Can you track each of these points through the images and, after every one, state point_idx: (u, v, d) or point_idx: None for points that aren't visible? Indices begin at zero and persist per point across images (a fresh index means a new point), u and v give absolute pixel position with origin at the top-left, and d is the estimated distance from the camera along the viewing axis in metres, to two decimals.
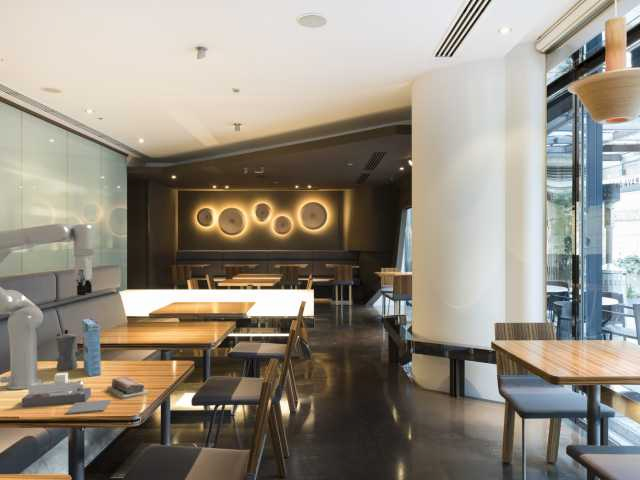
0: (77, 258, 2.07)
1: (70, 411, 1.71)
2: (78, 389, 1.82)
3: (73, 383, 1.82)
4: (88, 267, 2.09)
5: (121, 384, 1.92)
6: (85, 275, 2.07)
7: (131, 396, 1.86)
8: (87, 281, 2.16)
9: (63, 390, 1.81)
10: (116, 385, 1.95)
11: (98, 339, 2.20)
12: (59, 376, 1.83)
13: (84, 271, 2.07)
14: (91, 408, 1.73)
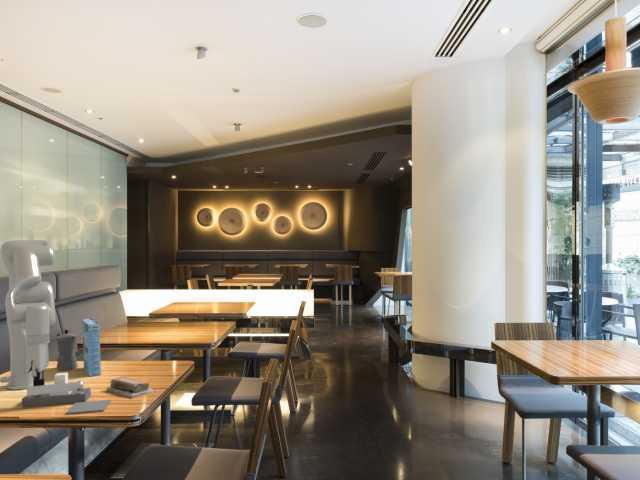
0: (29, 347, 1.77)
1: (70, 411, 1.71)
2: (78, 389, 1.82)
3: (73, 383, 1.82)
4: (43, 356, 1.79)
5: (125, 384, 1.92)
6: (38, 366, 1.77)
7: (139, 394, 1.88)
8: None
9: (62, 391, 1.81)
10: (117, 385, 1.95)
11: (98, 339, 2.20)
12: (59, 376, 1.83)
13: (37, 362, 1.77)
14: (91, 408, 1.73)
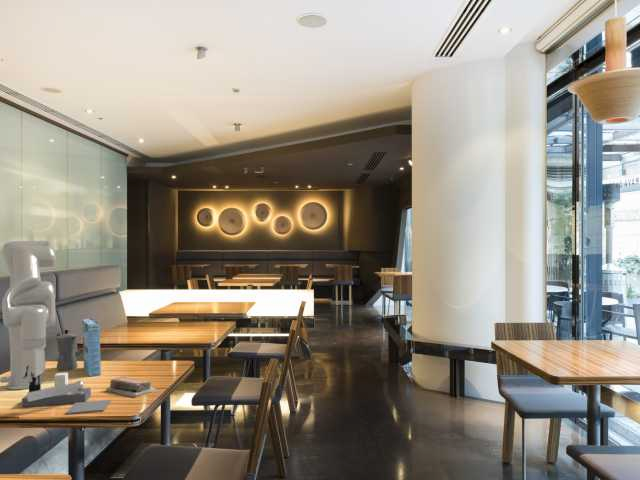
0: (24, 351, 1.70)
1: (70, 411, 1.71)
2: (80, 389, 1.82)
3: (74, 384, 1.81)
4: (39, 361, 1.73)
5: (127, 383, 1.92)
6: (34, 372, 1.70)
7: (142, 394, 1.89)
8: None
9: (64, 392, 1.79)
10: (118, 385, 1.95)
11: (98, 339, 2.20)
12: (59, 376, 1.83)
13: (33, 367, 1.70)
14: (91, 408, 1.73)
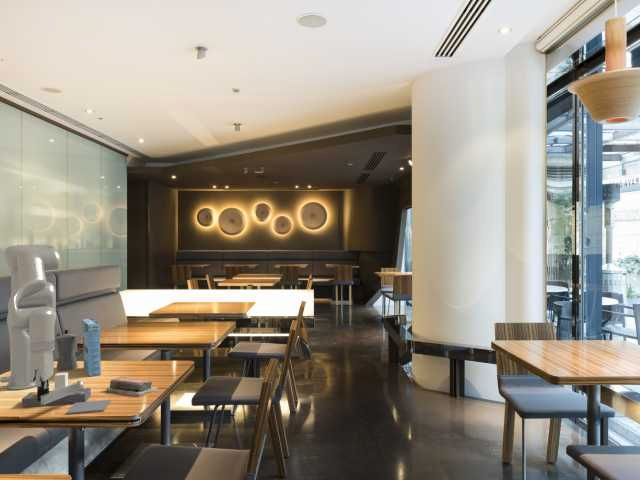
0: (33, 355, 1.65)
1: (70, 411, 1.71)
2: (81, 389, 1.83)
3: (76, 384, 1.81)
4: (47, 364, 1.68)
5: (128, 383, 1.93)
6: (43, 376, 1.66)
7: (145, 393, 1.90)
8: None
9: (69, 393, 1.78)
10: (119, 385, 1.95)
11: (98, 339, 2.20)
12: (59, 376, 1.83)
13: (42, 371, 1.65)
14: (91, 408, 1.73)
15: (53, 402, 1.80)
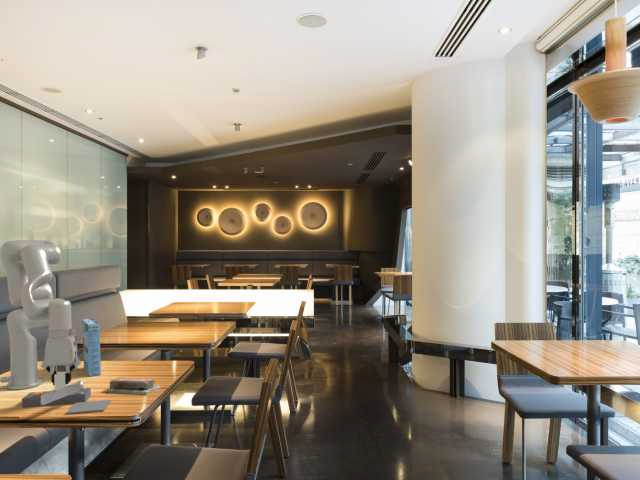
0: None
1: (70, 411, 1.71)
2: (81, 389, 1.83)
3: (76, 384, 1.81)
4: (51, 351, 1.82)
5: (132, 382, 1.94)
6: (45, 360, 1.82)
7: (151, 391, 1.93)
8: None
9: (69, 393, 1.78)
10: (120, 385, 1.95)
11: (98, 339, 2.20)
12: (59, 375, 1.82)
13: None
14: (91, 408, 1.73)
15: (53, 402, 1.80)
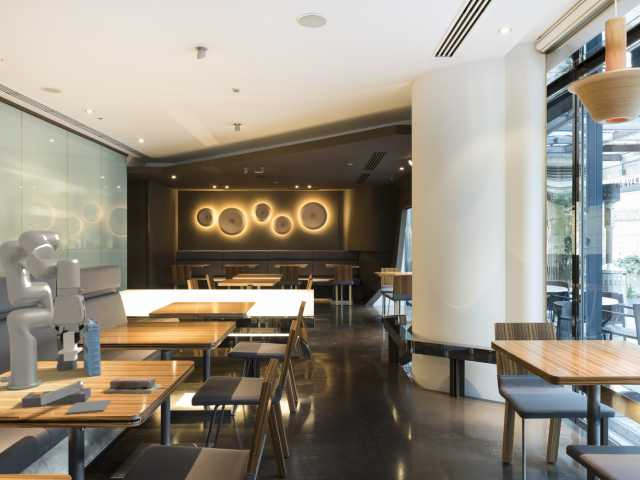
0: None
1: (70, 411, 1.71)
2: (81, 389, 1.83)
3: (76, 384, 1.81)
4: (60, 310, 1.79)
5: (134, 382, 1.94)
6: (53, 319, 1.79)
7: (154, 389, 1.94)
8: None
9: (69, 393, 1.78)
10: (122, 385, 1.95)
11: (98, 339, 2.20)
12: (68, 334, 1.79)
13: None
14: (91, 408, 1.73)
15: (53, 402, 1.80)
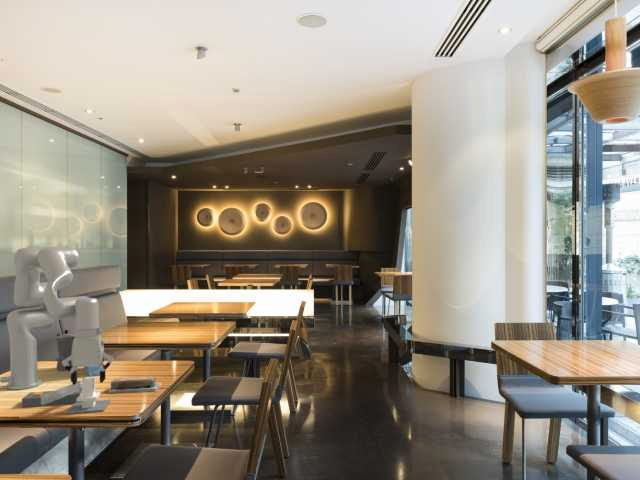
0: None
1: (70, 411, 1.71)
2: (81, 389, 1.83)
3: (76, 384, 1.81)
4: (78, 351, 1.73)
5: (137, 381, 1.95)
6: (71, 361, 1.73)
7: (157, 387, 1.97)
8: None
9: (69, 393, 1.78)
10: (123, 385, 1.95)
11: None
12: (86, 380, 1.74)
13: (71, 356, 1.74)
14: (91, 408, 1.73)
15: (53, 402, 1.80)
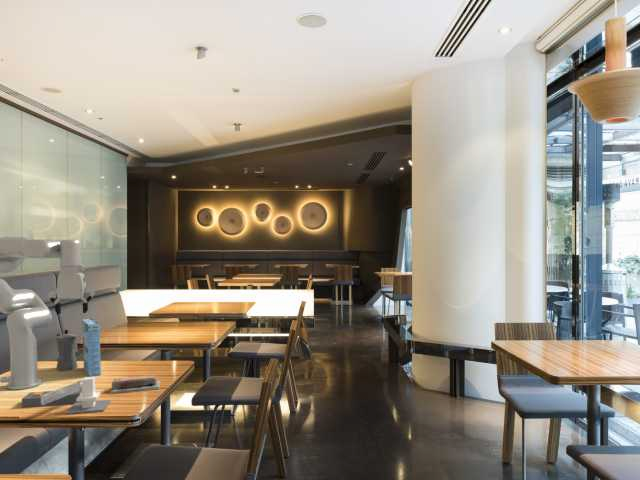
0: None
1: (70, 411, 1.71)
2: (81, 389, 1.83)
3: (76, 384, 1.81)
4: (62, 285, 1.96)
5: (139, 380, 1.97)
6: (57, 294, 1.97)
7: (159, 386, 1.99)
8: None
9: (69, 393, 1.78)
10: (125, 385, 1.95)
11: (98, 339, 2.20)
12: (86, 380, 1.74)
13: (56, 289, 1.97)
14: (91, 408, 1.73)
15: (53, 402, 1.80)
